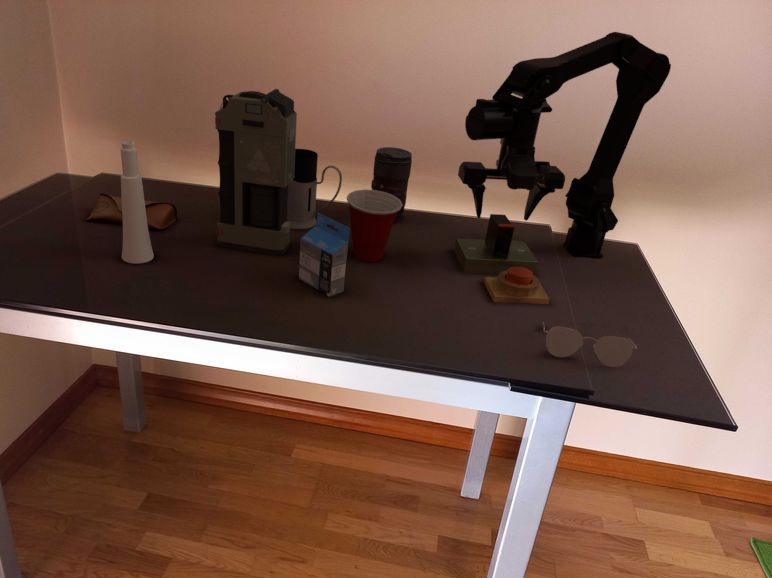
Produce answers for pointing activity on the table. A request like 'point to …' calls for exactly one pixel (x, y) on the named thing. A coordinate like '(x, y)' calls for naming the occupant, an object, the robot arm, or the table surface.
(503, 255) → the selector
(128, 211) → the cosmetic bottle
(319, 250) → the ink cartridge box
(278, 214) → the device
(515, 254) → the panel
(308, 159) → the glass holder
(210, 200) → the table surface
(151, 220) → the sunglasses case
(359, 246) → the plastic cup
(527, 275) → the button
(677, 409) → the table surface
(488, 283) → the button block
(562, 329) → the sunglasses
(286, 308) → the table surface
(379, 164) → the camera lens
